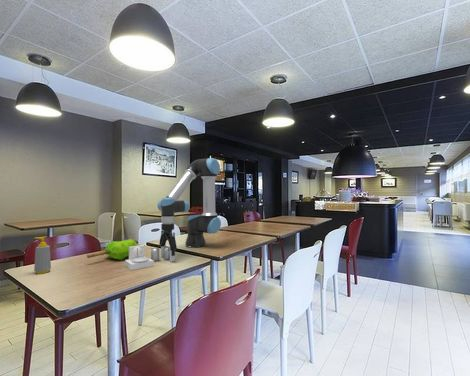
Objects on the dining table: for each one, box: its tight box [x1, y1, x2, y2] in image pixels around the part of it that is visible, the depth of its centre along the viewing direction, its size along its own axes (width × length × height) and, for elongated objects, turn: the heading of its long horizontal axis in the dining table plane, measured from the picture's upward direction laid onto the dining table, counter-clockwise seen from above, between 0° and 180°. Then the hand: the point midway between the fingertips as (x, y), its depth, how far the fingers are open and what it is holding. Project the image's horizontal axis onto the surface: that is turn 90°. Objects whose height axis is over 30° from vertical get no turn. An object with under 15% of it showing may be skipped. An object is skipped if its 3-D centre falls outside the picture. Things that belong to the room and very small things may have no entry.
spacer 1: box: [150, 247, 160, 263], centre depth 154 cm, size 5×5×7 cm
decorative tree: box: [86, 238, 138, 261], centre depth 157 cm, size 18×10×30 cm
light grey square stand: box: [124, 244, 155, 271], centre depth 143 cm, size 12×12×10 cm
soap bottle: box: [33, 236, 52, 275], centre depth 132 cm, size 7×7×18 cm
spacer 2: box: [163, 246, 170, 261], centre depth 157 cm, size 5×5×7 cm
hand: (167, 259), depth 156 cm, fingers open, 12 cm apart
